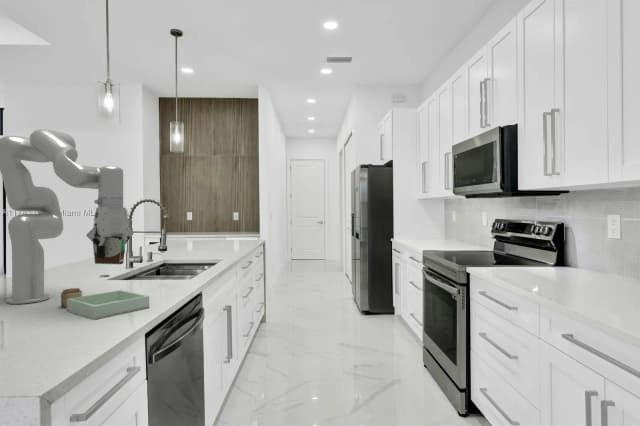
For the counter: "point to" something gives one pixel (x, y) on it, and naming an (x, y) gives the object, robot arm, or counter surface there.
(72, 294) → the salt cellar
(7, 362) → the counter surface
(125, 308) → the bin
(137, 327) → the counter surface
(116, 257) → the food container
